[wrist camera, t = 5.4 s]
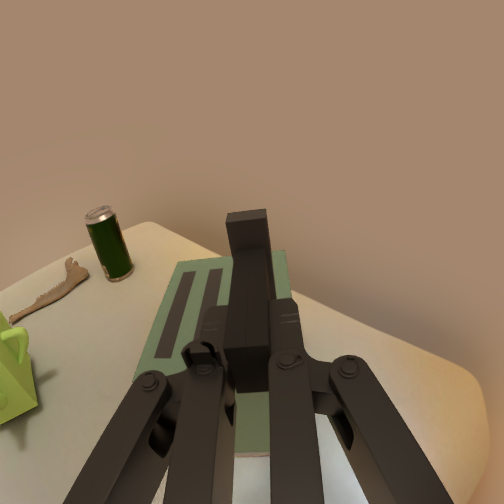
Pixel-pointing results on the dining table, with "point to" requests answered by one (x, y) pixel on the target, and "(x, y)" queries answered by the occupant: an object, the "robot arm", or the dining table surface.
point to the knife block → (188, 329)
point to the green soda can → (109, 243)
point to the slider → (251, 237)
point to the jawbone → (56, 289)
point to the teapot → (15, 372)
